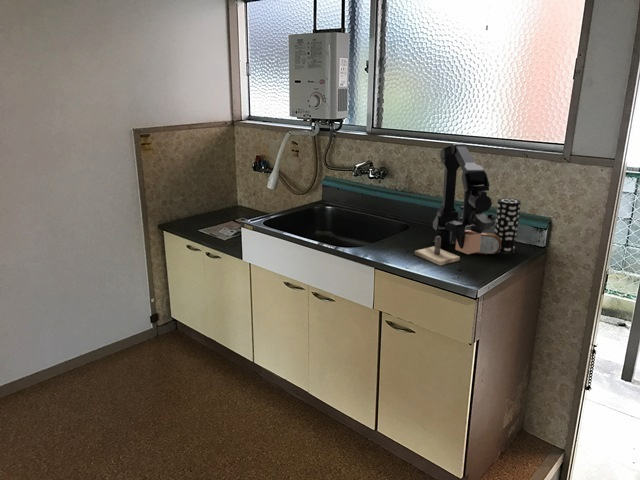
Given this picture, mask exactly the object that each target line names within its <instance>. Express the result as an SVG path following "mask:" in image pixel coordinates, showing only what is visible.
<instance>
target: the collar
mask: <svg viewBox="0 0 640 480" xmlns="http://www.w3.org/2000/svg"><path fill="white" fill-rule="evenodd" d="M465 231H466V232H468V233H467V234H466V235H465V239H464V246H463V249H461V248H460V247H459V244H458V242H457V239H456V238H455V250H456V251H457V252H461V253H464V254H466V255H471V254H476V253H475V252H479V251H480V244H481V234H480V233H477V232H474V231H471V229H466V230H465Z"/></svg>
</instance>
